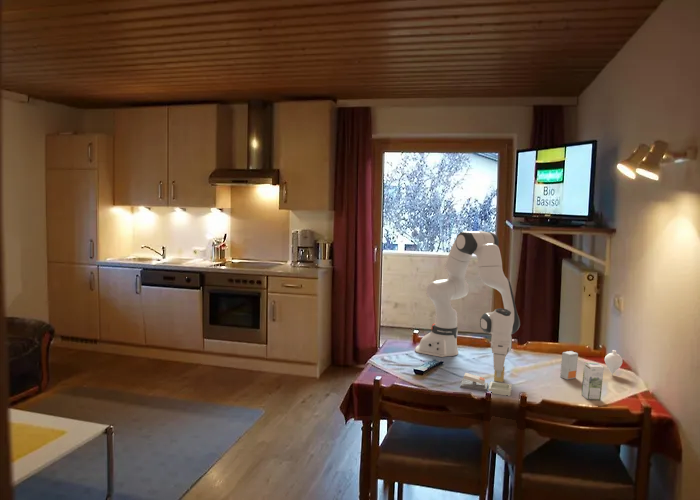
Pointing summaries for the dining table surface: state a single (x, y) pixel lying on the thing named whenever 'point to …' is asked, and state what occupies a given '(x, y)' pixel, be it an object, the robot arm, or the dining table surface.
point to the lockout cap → (499, 377)
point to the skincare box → (569, 365)
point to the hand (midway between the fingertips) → (499, 375)
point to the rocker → (474, 378)
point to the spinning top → (613, 361)
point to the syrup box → (592, 381)
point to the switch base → (473, 385)
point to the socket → (500, 388)
